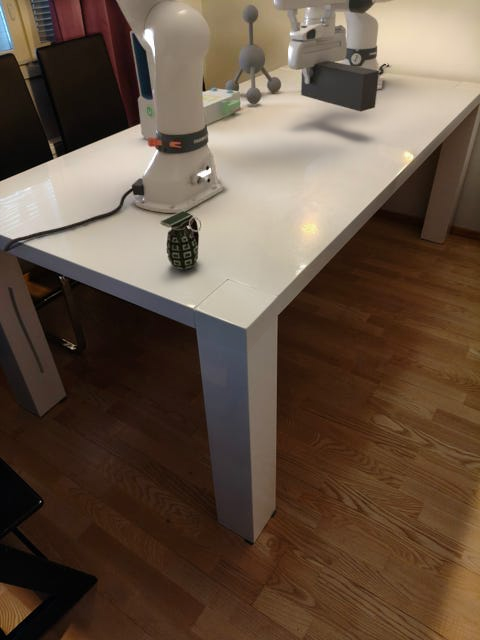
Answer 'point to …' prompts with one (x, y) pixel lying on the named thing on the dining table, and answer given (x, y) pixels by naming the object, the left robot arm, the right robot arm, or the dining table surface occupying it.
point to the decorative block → (219, 104)
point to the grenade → (182, 240)
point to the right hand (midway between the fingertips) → (317, 81)
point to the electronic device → (145, 87)
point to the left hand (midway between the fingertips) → (310, 28)
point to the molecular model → (252, 62)
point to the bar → (342, 85)
